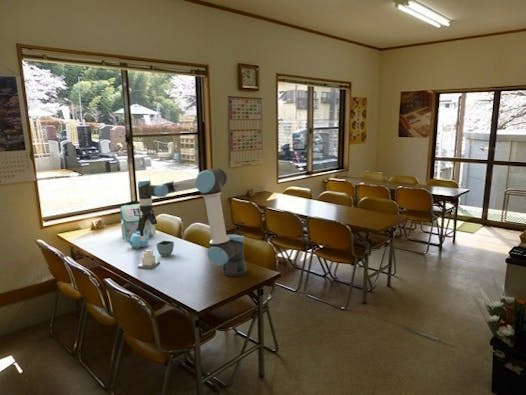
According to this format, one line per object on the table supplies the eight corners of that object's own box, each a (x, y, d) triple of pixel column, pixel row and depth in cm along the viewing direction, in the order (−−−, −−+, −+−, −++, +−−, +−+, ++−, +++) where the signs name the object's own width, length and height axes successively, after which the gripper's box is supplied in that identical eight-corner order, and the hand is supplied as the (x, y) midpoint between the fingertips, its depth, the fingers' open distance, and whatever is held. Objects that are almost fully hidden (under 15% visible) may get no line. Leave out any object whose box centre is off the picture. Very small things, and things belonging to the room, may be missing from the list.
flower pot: (164, 252, 272) (163, 240, 270) (175, 253, 269) (174, 241, 267) (156, 256, 264) (155, 244, 262) (167, 258, 261) (167, 245, 259)
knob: (155, 262, 250) (154, 249, 248) (150, 265, 244) (149, 252, 242) (147, 261, 251) (146, 249, 249) (142, 264, 245) (141, 252, 244)
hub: (159, 263, 252) (159, 254, 250) (152, 269, 242) (151, 260, 241) (145, 262, 254) (145, 253, 253) (137, 267, 244) (137, 258, 243)
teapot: (135, 243, 293) (133, 228, 291) (152, 243, 291) (151, 229, 289) (125, 250, 278) (124, 235, 276) (143, 250, 276) (142, 235, 274)
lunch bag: (124, 241, 297) (121, 207, 291) (120, 236, 310) (117, 203, 305) (154, 237, 308) (152, 204, 302) (149, 232, 322) (147, 200, 316)
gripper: (150, 200, 253) (152, 231, 257) (129, 209, 229) (132, 243, 233) (160, 200, 251) (163, 232, 256) (141, 209, 227) (143, 243, 232)
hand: (148, 237), depth 244 cm, fingers open, 13 cm apart
